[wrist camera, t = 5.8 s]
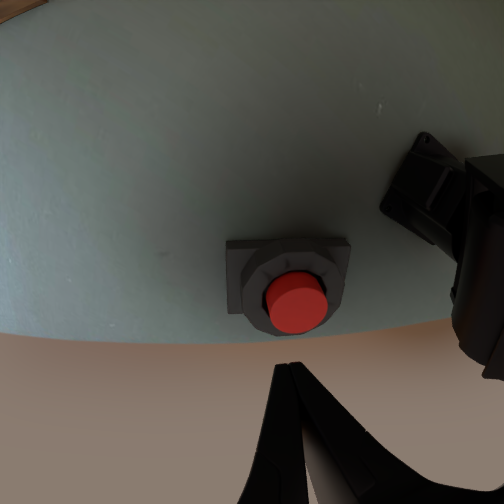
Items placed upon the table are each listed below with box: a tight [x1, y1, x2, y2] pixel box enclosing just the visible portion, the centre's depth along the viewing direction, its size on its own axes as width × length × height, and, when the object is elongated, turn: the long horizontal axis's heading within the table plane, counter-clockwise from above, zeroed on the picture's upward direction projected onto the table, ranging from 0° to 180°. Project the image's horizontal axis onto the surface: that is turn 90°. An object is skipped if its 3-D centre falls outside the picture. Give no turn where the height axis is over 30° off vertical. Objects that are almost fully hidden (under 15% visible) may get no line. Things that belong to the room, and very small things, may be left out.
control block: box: [226, 238, 351, 336], centre depth 19 cm, size 8×6×3 cm
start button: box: [266, 271, 328, 333], centre depth 18 cm, size 3×3×2 cm
